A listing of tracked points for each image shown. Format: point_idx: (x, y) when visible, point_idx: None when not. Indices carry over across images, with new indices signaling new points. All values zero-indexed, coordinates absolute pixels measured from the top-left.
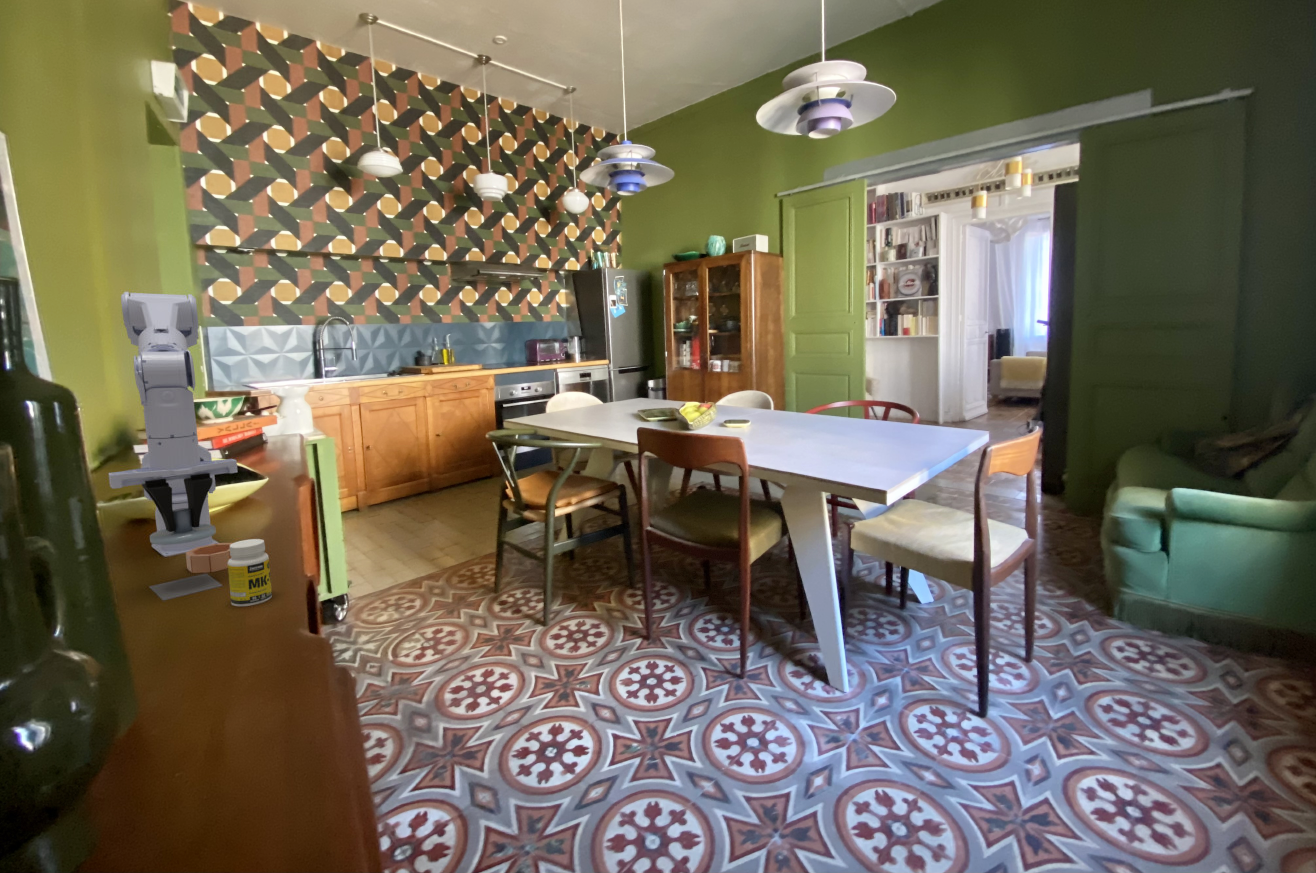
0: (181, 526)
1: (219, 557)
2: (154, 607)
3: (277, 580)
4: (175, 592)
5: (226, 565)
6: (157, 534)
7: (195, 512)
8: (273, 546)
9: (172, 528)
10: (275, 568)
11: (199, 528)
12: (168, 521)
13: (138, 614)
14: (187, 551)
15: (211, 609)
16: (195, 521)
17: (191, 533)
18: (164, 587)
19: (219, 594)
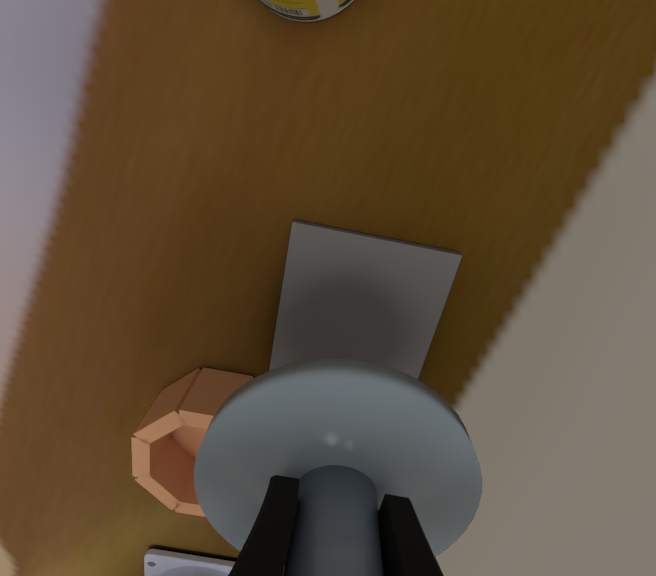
0: (358, 506)
1: (214, 404)
2: (492, 239)
3: (139, 117)
4: (404, 292)
5: (207, 379)
6: (426, 535)
7: (275, 565)
8: (41, 454)
9: (402, 511)
10: (100, 258)
11: (263, 480)
12: (432, 560)
13: (549, 219)
14: (221, 563)
15: (430, 17)
16: (286, 506)
17: (335, 429)
18: (393, 363)
19: (329, 167)
